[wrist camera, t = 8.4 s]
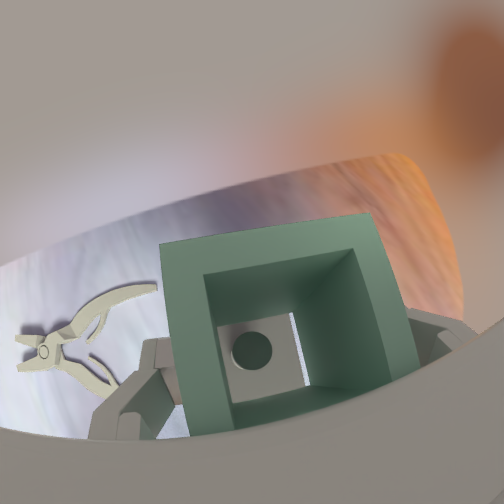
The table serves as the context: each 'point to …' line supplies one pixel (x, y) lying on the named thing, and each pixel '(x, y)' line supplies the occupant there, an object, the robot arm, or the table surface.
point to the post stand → (260, 358)
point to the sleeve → (281, 302)
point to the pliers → (51, 345)
